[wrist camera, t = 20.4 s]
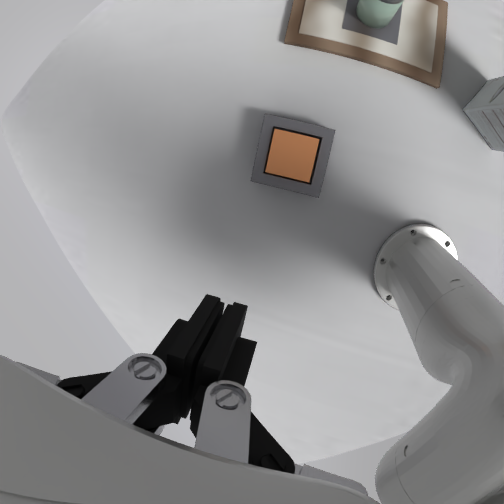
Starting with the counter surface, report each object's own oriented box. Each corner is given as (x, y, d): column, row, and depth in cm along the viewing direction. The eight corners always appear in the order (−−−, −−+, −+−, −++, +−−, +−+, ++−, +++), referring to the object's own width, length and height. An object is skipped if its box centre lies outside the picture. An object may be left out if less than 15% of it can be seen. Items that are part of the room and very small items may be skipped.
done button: (318, 139, 35) (319, 139, 32) (309, 179, 37) (309, 182, 34) (277, 129, 35) (274, 128, 33) (268, 169, 37) (265, 171, 34)
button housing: (333, 131, 35) (335, 130, 32) (318, 193, 38) (318, 197, 35) (268, 116, 36) (265, 113, 33) (255, 177, 39) (250, 181, 36)
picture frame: (445, 5, 25) (448, 1, 24) (436, 88, 30) (440, 87, 29) (303, -38, 27) (303, -42, 26) (285, 43, 32) (284, 40, 31)
